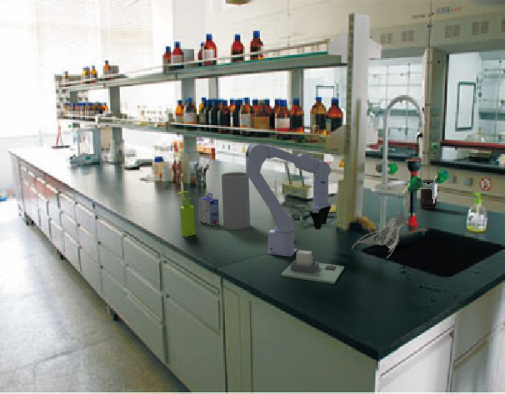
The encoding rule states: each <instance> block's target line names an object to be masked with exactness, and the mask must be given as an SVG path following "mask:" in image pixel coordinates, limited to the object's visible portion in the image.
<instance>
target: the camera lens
mask: <svg viewBox="0 0 505 394" xmlns="http://www.w3.org/2000/svg"><path fill="white" fill-rule="evenodd" d="M434 180H435V179H422V180H421V181H423V183H427V184H430V183H433V182H434ZM419 198H420V199H419V205H420V209H421V210H424V211H434V210H436V209H435V208H436V205H437V196H436V199H435V203H434V204H433V199H432V190H431V189H420V197H419Z"/></svg>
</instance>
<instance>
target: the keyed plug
mask: <svg viewBox="0 0 505 394" xmlns="http://www.w3.org/2000/svg"><path fill="white" fill-rule="evenodd" d="M295 253H296V255H295V256H296V258H295V260H296V265H302V266H309V267H313V261H314V257H313V256H314V255H313V253H312V251H310V250H303V249H299V250H297V251H296V252H295Z"/></svg>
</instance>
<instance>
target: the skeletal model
mask: <svg viewBox="0 0 505 394" xmlns="http://www.w3.org/2000/svg"><path fill="white" fill-rule="evenodd" d="M406 222H407V221H406V218H405V215H404V214H403V212H401V211H398V214H397V216H394V217H392V218H390V219H389V221H388V224H387V225H386V226H385V227H383V228H382V229H381V230H377V231H372V232H369V233H368V234H365V235H364V236H361V237H360V238H359V239H358V240H356V242H355V243H354V244H353V245H352V247H351V250H353V249H354V247H355V246H356V245H357V244H363V245H364V244H365V245H368V246H369V245H377V246H378V245H379V246H380V247H381V246H387V248H388V249H389V250H388V253H390V254H388V255H387V256H386V259H388V258H390V256H391V255H392V253H394V251H395V248H396V246H397V245H398V243H399V242H400V239H399V238H400V236H399V234H400V230H401V228H402V227H403V226H404V225H405V224H406ZM375 233H376V234H375ZM372 234H373V235H372ZM370 235H371V236H370ZM367 236H369V237H368V238H365V237H367ZM376 237H377V238H376ZM364 238H365V239H364ZM375 238H376V239H375Z"/></svg>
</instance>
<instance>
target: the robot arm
mask: <svg viewBox="0 0 505 394" xmlns="http://www.w3.org/2000/svg"><path fill="white" fill-rule="evenodd" d="M273 158H276V159H280V160H283V161H285V162H289V163H292V164H294V167H295V168H296V169H298V170H301V171H304V172H306V173H310V174H312V175H313V178H312V179H313V182H312V183H313V185H312V187H313V188H312V189H313V190H312V197H313V200H312V210H310V211H309V215H310V216H311V219H312V223H313V227H314V230H321V229H322V225H326V224H327V223H328V222H327V221H328V216H329V214H330V210H331V209H332V203H329V182H330V181H329V176H330V174H331V172H332V168H331V167H330V164H329V163H328V162H326V161H323V160H321V159H320V158H319V157H312V156H310V155H309V154H308V153H307V152H304V153H302V152H300V153H298V154H294V153H291V152H289V151H286V150H284V149H281V148H278V147H276V146H274V145H268V144H264V143H262V144H261V143H259V142H252V143H249V145H248V147H247V149H246V152H245V173H246V174H247V175H248V177H249V181H250V182H251V183H252V184H253V186H254V188H255V189H256V190H257V192H258V194H259V195H260V197H261V199H262V200H263V201H264V203H265V205H266V206H267V208H268V209H269V211H270V213H271V214H272V217H273V222H274V225H275V224H276V225H277V226H276V227H275V226H274V228H272V229H270V230H269V232H268V237H267V239H268V242H267V243H268V245H267V246H268V252H267V254H269V255H277V256H282V257H283V256H284V257H292V256H293V255H294V254H295V253H297V252H298V249H297V248H295V241H294V240H295V238H294V237H295V235H294V234H295V233H294V232H295V231H294V229H295V226H296V222H295V221H296V220H295V219H294V218H293V217H292V216H290V214H289V213H288V212H287V211H286V210H285V208H284V207H283V206H282V205H281V203H280V201H279V199H278V198H277V196H276V195H275V193H274V192H273V190H272V189H271V187H270V186H269V184H268V182H267V180H266V179H265V178H264V176H263V174H262V173H261V169H262V167H263V164H264V163H265V161H266V160H267V159H268V160H271V159H273Z"/></svg>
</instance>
